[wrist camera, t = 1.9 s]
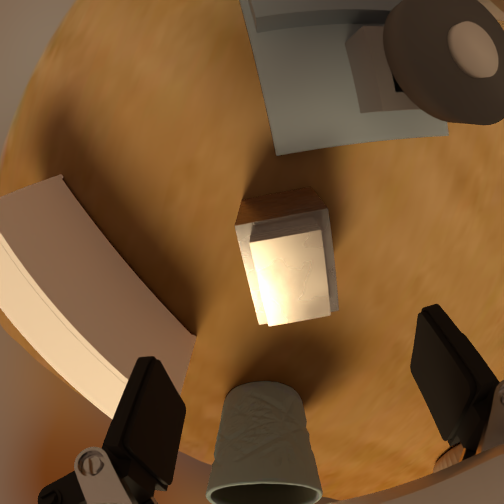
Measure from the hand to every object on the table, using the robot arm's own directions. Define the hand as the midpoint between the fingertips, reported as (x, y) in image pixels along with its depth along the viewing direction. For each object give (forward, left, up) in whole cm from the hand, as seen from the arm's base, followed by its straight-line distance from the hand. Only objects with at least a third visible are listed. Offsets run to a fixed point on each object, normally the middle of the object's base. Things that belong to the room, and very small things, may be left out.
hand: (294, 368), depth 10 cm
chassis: (-7, -17, -14) cm, 23 cm away
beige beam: (+15, +1, -14) cm, 20 cm away
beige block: (0, 0, -14) cm, 14 cm away
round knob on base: (-9, -10, -9) cm, 16 cm away
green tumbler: (+5, +19, -14) cm, 24 cm away
